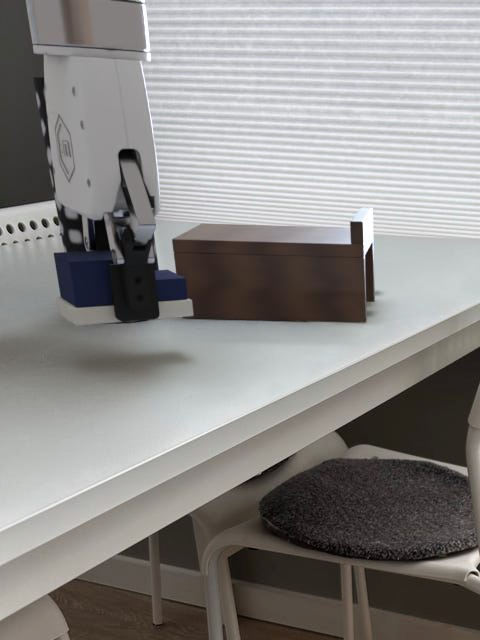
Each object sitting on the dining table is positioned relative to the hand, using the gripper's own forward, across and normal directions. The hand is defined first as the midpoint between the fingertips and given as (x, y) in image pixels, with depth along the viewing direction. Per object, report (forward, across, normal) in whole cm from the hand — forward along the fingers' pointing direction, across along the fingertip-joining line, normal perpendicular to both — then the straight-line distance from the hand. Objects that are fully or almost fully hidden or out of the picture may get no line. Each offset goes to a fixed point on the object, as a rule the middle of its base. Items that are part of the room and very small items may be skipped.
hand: (126, 309), depth 73 cm
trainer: (0, 0, 0) cm, 0 cm away
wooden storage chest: (+5, -17, +21) cm, 27 cm away
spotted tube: (+5, -22, +6) cm, 23 cm away
